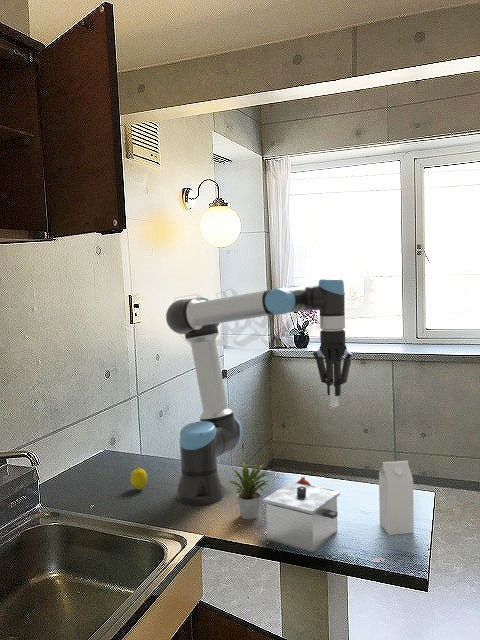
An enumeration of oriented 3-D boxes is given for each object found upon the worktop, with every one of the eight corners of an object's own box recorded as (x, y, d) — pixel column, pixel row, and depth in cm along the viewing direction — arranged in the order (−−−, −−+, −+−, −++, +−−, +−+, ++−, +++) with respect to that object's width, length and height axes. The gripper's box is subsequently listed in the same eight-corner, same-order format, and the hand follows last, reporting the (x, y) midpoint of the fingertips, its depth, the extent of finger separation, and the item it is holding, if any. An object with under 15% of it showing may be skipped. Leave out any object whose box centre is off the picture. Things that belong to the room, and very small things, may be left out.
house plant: (260, 531, 156) (258, 474, 155) (217, 523, 162) (215, 468, 161) (280, 511, 169) (278, 458, 167) (239, 504, 175) (237, 453, 174)
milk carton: (379, 524, 158) (378, 458, 157) (404, 522, 159) (403, 456, 157) (388, 535, 151) (387, 466, 150) (414, 533, 152) (413, 465, 150)
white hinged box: (258, 536, 153) (256, 501, 152) (284, 518, 164) (283, 484, 163) (323, 556, 141) (322, 517, 140) (347, 534, 153) (346, 498, 152)
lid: (262, 502, 150) (262, 491, 150) (292, 484, 163) (292, 474, 163) (313, 514, 141) (313, 503, 141) (340, 494, 154) (340, 484, 154)
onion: (311, 506, 172) (311, 480, 171) (293, 505, 173) (292, 480, 172) (313, 498, 178) (312, 474, 177) (295, 497, 179) (294, 473, 178)
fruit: (148, 485, 194) (146, 463, 193) (147, 491, 188) (146, 468, 188) (131, 487, 193) (130, 464, 193) (130, 493, 188) (129, 469, 187)
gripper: (357, 328, 169) (359, 405, 171) (319, 327, 177) (321, 401, 179) (347, 331, 163) (348, 411, 165) (307, 330, 171) (309, 406, 173)
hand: (334, 406), depth 172 cm, fingers closed
